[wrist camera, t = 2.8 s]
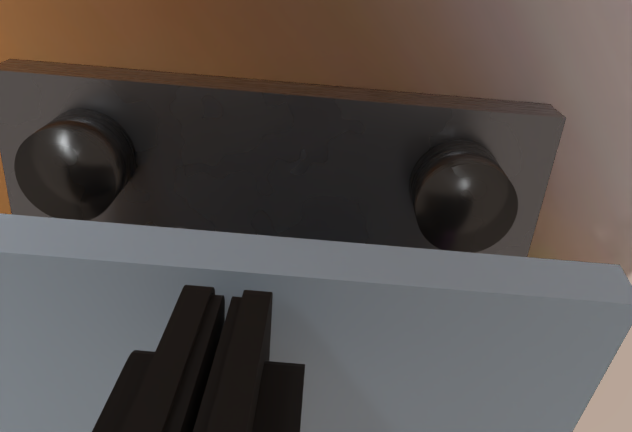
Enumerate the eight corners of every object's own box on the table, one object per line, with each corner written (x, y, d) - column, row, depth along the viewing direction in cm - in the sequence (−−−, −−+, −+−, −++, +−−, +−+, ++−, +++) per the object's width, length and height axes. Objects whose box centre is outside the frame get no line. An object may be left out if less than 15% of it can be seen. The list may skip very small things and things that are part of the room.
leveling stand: (9, 59, 19) (-132, 118, 14) (550, 104, 19) (640, 183, 14) (78, 487, 29) (13, 630, 23) (441, 516, 29) (466, 666, 23)
